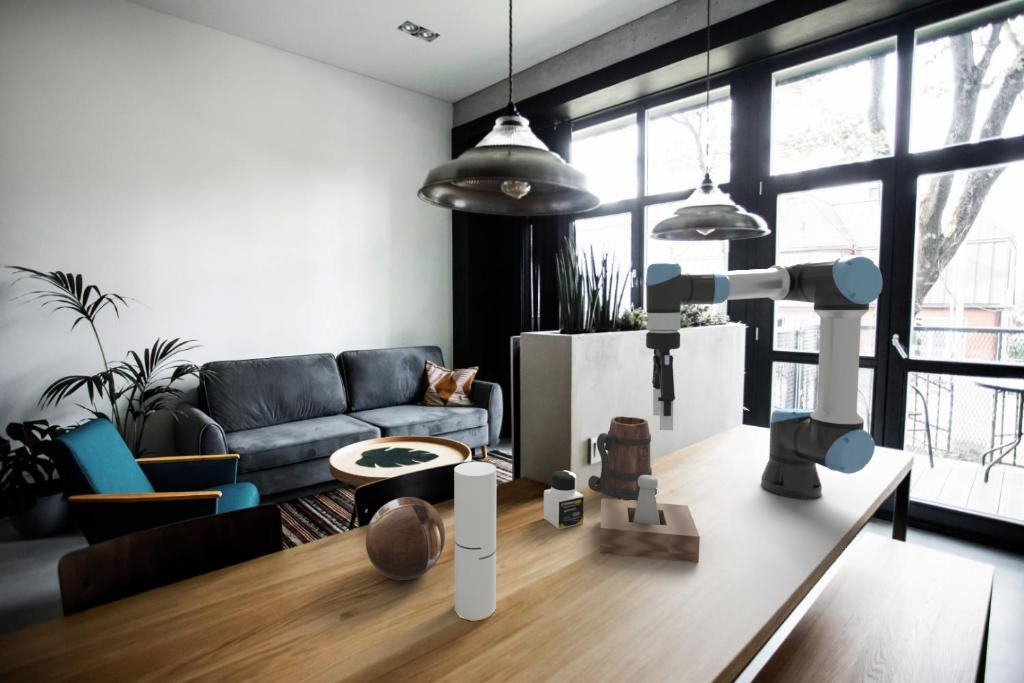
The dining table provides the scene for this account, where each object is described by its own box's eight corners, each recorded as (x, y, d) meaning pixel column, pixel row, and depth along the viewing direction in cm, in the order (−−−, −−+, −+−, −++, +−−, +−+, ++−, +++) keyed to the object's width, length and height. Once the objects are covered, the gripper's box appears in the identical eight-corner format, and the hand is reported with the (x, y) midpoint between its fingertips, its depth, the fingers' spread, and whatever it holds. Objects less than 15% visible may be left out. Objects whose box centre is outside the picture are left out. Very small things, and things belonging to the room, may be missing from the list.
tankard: (623, 474, 156) (625, 410, 154) (671, 491, 143) (673, 421, 141) (568, 492, 142) (569, 421, 140) (615, 512, 129) (617, 435, 127)
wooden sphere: (354, 570, 101) (353, 496, 99) (423, 548, 110) (422, 480, 108) (385, 607, 89) (384, 524, 87) (459, 578, 98) (459, 503, 97)
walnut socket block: (686, 527, 120) (687, 505, 120) (698, 562, 104) (699, 536, 104) (600, 520, 124) (601, 498, 123) (599, 552, 108) (600, 527, 108)
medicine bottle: (558, 530, 119) (559, 480, 118) (543, 518, 125) (543, 470, 124) (583, 523, 122) (584, 475, 121) (567, 512, 128) (568, 466, 127)
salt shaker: (657, 528, 116) (659, 473, 115) (661, 540, 111) (663, 481, 110) (631, 526, 117) (633, 471, 116) (633, 537, 111) (636, 480, 110)
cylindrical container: (455, 597, 92) (454, 462, 90) (494, 595, 92) (495, 461, 90) (454, 622, 85) (453, 476, 82) (497, 620, 85) (497, 475, 83)
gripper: (641, 327, 129) (641, 409, 131) (652, 335, 105) (651, 436, 107) (672, 327, 128) (671, 410, 130) (690, 335, 104) (688, 437, 106)
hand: (662, 422), depth 118 cm, fingers open, 13 cm apart
